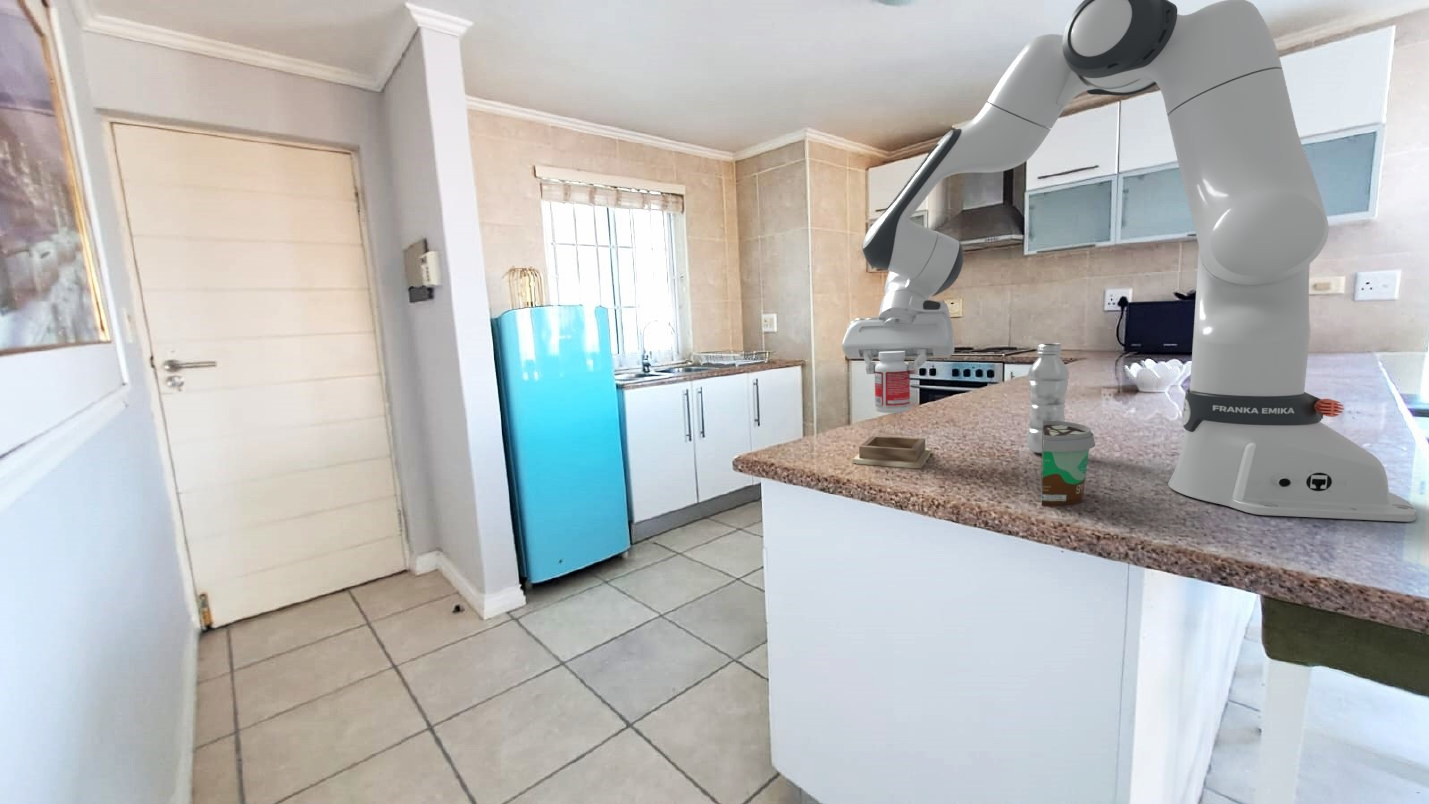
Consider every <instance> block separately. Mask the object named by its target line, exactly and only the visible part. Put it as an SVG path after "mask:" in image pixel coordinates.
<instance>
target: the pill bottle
mask: <svg viewBox="0 0 1429 804" xmlns="http://www.w3.org/2000/svg"><path fill="white" fill-rule="evenodd" d="M905 357H906V356H905V351H884V352H879V358H878V361H879V363H876V367H875V374H874V408H875V411H876V412H879V413H883V414H884V413H885V414H901V413H906V412H908V411H909V410H910V409H911V395H910V394H911V393H910V392H911V391H910V390H911V389H910V387H911V385H910V384H911V383H910V382H911V381H910V380H911V374H909V372H908V366H909V363H906V362H905V359H906V358H905Z"/></svg>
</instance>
